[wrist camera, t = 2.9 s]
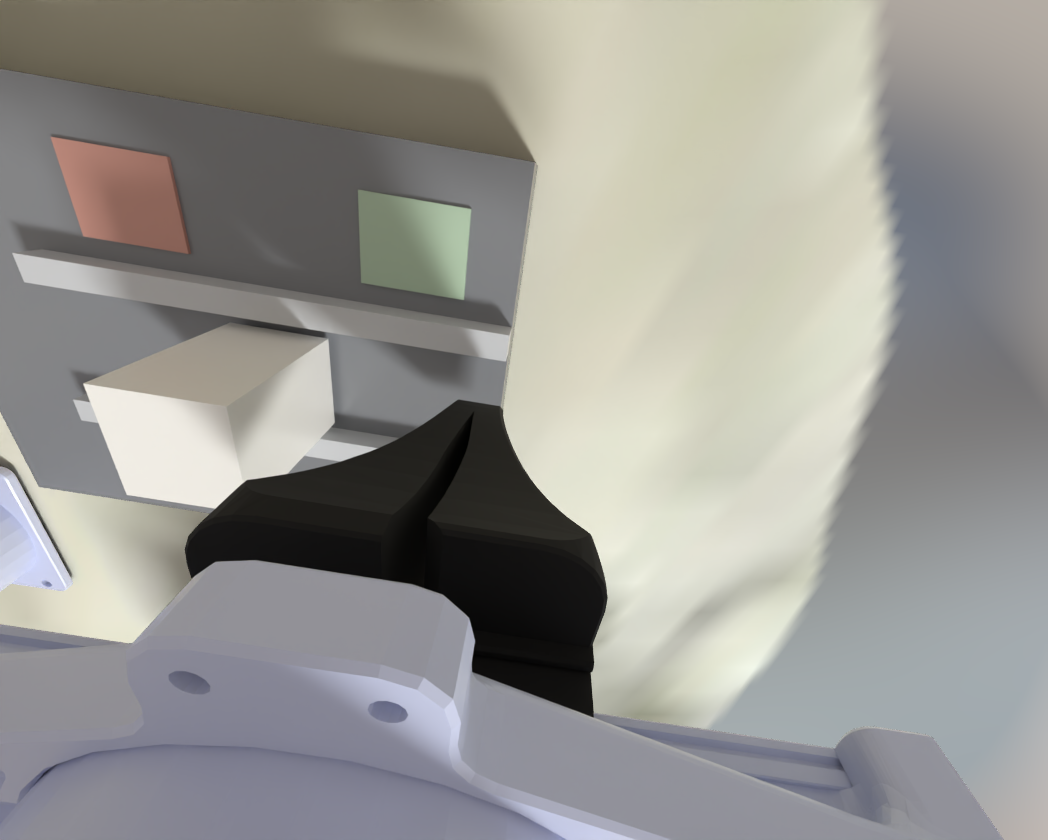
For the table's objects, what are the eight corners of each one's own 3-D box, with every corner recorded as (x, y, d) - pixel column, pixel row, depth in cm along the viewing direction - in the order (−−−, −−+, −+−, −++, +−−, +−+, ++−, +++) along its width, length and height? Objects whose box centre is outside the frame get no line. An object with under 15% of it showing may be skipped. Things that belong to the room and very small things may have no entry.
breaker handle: (246, 408, 14) (126, 494, 10) (229, 322, 13) (83, 383, 9) (334, 422, 14) (250, 513, 10) (328, 338, 13) (226, 406, 9)
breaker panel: (86, 459, 19) (16, 499, 16) (-86, 57, 12) (-249, 23, 10) (486, 521, 19) (476, 570, 17) (537, 165, 12) (533, 160, 10)
